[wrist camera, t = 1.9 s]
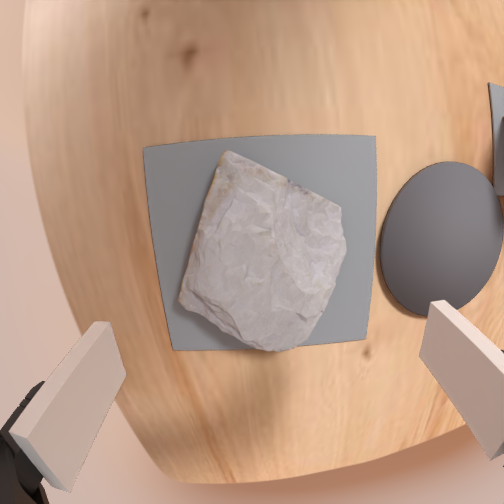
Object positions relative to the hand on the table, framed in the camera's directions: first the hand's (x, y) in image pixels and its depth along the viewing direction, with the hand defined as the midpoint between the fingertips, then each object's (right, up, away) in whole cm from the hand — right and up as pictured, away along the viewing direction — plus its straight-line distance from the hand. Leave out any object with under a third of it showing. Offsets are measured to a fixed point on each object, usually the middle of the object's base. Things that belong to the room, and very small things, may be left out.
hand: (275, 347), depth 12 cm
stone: (0, +4, +10) cm, 11 cm away
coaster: (+15, +4, +10) cm, 19 cm away
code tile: (0, +4, +10) cm, 11 cm away
